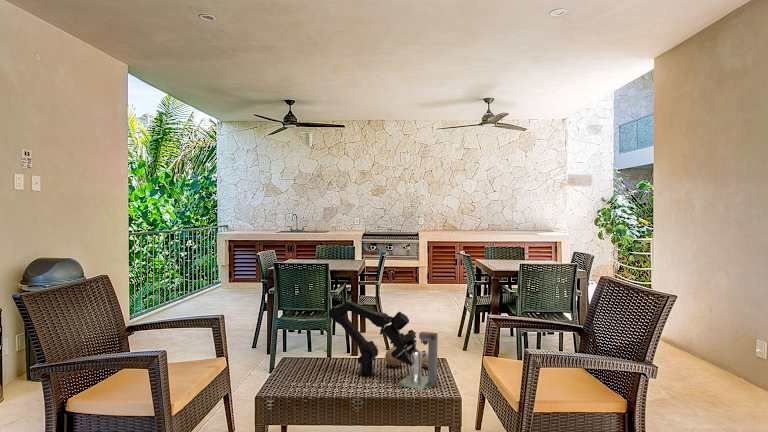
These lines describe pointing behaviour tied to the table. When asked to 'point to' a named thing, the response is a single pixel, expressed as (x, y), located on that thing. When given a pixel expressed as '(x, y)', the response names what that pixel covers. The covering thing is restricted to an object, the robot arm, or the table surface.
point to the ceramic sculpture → (425, 360)
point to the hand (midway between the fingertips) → (415, 362)
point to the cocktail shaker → (416, 365)
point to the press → (432, 364)
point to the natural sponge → (391, 358)
